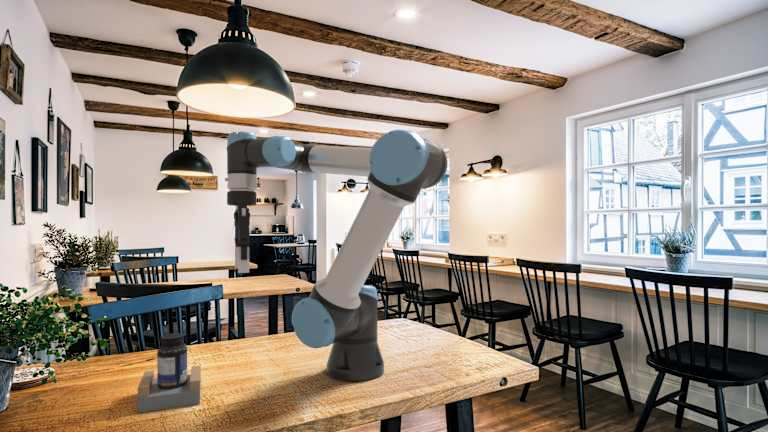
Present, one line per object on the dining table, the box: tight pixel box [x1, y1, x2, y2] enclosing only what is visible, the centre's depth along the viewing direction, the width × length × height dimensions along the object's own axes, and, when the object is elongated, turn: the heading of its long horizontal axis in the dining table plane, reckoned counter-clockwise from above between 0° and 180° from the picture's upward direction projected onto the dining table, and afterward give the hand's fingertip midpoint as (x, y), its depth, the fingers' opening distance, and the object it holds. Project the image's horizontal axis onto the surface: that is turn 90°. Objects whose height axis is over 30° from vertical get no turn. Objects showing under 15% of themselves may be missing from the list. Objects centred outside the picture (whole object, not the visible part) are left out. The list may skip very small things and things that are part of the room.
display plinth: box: [136, 365, 202, 414], centre depth 102 cm, size 12×12×5 cm
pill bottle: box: [156, 332, 188, 389], centre depth 102 cm, size 6×6×11 cm
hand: (241, 270), depth 121 cm, fingers open, 13 cm apart
